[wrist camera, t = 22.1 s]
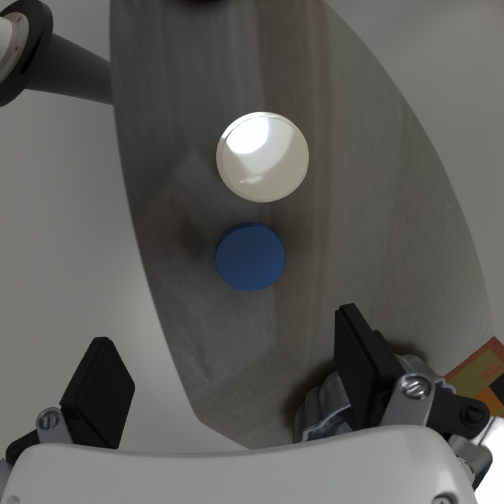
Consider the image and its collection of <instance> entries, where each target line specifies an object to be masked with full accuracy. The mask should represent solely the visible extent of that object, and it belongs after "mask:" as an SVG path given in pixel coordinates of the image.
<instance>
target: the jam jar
mask: <svg viewBox="0 0 504 504" xmlns="http://www.w3.org/2000/svg"><path fill="white" fill-rule="evenodd" d="M216 161H217V167H218V171H219V174H220V176H221V178H222V180H223V181H224V183H225V184H226V185H227V187H228V188H229V189H230V190H231V191H233V192H234V193H235V194H237V195H238V196H240V197H242V198H244V199H247V200H250V201H254V202H271V201H276V200H278V199H281V198H283V197H285V196H287V195H289V194H290V193H291V192H293V191H294V190H295V189H296V188H297V187H298V186H299V185H300V183H301V182H302V181H303V179H304V177H305V174H306V172H307V170H308V169H307V168H308V162H309V152H308V146H307V143H306V140H305V138H304V136H303V134H302V133H301V131H300V130H299V129H298V128H297V127H296V125H294V124H293V123H292V122H291V121H290V120H288V119H287V118H285V117H283V116H281V115H278V114H275V113H270V112H255V113H250V114H247V115H244V116H242V117H240V118H238V119H237V120H235V121H234V122H233V123H232V124H230V125H229V126H228V128H227V129H226V130H225V131H224V133H223V134H222V136H221V138H220V140H219V143H218V146H217V152H216Z"/></svg>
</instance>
